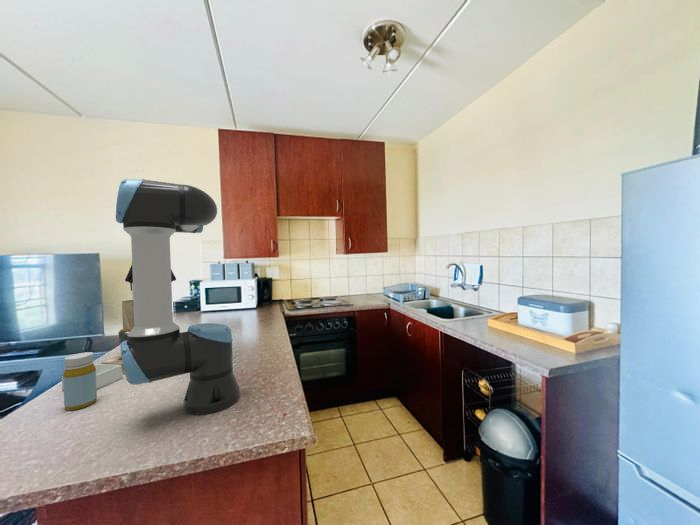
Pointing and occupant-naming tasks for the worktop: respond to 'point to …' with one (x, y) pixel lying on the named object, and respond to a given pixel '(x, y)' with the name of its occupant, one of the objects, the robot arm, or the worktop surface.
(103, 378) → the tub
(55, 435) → the worktop surface
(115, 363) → the eye block
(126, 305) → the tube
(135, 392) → the worktop surface
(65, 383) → the bottle
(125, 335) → the grey capped post
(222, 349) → the robot arm
